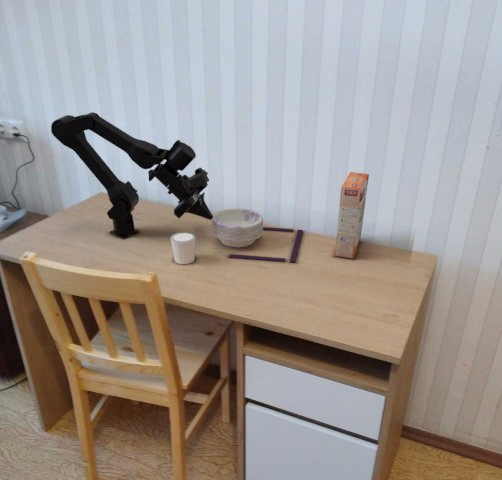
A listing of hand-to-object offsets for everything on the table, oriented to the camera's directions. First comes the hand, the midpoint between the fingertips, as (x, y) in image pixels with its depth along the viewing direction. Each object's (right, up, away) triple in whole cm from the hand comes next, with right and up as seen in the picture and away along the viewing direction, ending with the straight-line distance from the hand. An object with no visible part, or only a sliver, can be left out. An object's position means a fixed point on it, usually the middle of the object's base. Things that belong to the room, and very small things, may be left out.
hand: (211, 218), depth 159 cm
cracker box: (+40, -9, -2) cm, 42 cm away
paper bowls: (+8, -7, +3) cm, 11 cm away
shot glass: (-7, -13, -8) cm, 17 cm away
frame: (+17, -7, +1) cm, 18 cm away
